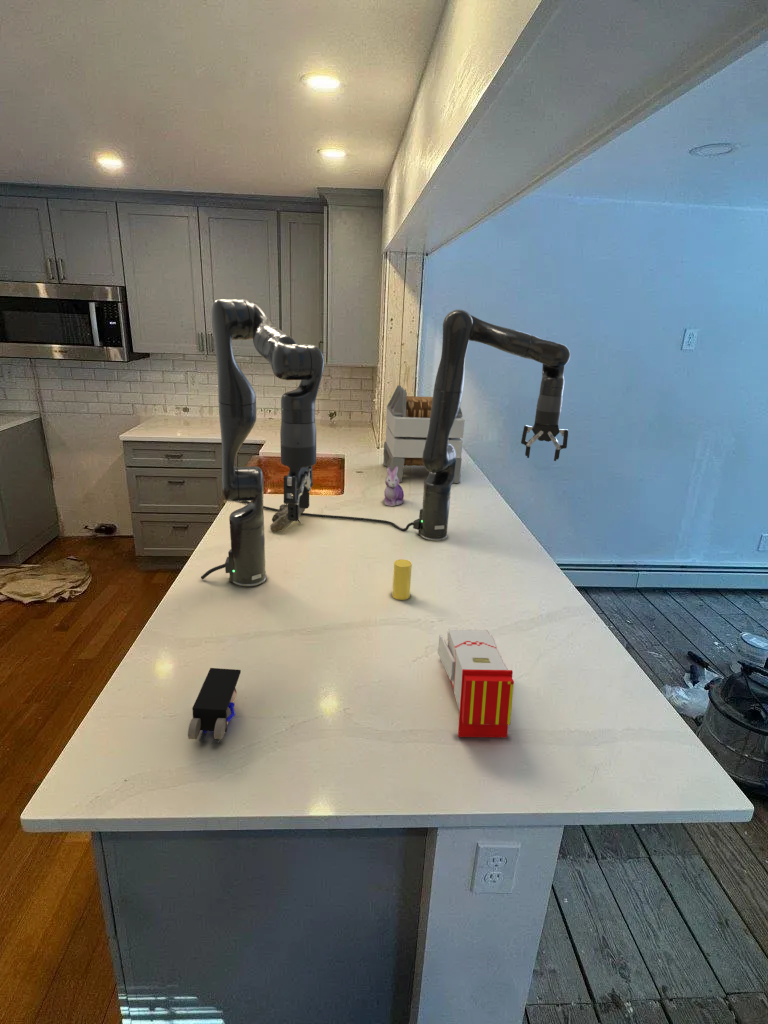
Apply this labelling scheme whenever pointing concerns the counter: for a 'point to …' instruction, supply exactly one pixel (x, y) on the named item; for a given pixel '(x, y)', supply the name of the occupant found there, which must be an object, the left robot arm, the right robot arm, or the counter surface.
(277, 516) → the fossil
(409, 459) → the grey slatted crate
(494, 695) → the toy
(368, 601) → the counter surface
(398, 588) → the canister
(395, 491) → the figurine
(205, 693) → the figurine character
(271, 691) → the counter surface
